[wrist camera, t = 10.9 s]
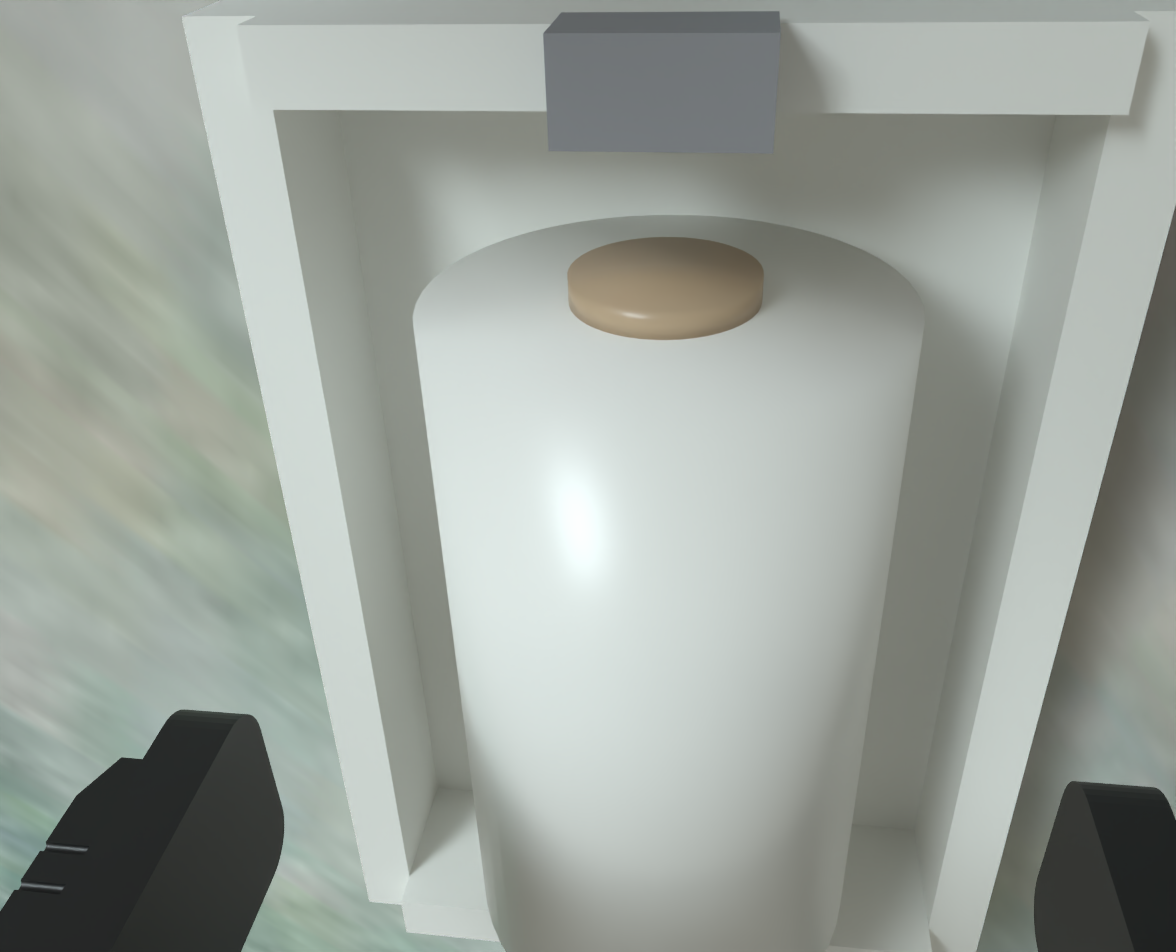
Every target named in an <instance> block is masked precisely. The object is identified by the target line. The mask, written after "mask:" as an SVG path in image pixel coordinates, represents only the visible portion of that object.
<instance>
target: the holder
mask: <svg viewBox="0 0 1176 952" xmlns="http://www.w3.org/2000/svg"><path fill="white" fill-rule="evenodd" d="M182 21H183V25H184V30H185V35H186V39H187V44H188V49H189V54H190V58H191V63H192V68H193V72H194V77H195V82H196V87H197V91H198V96H199V101H200V105H201V110H202V115H203V120H204V124H205V129H206V134H207V138H208V143H209V148H210V153H211V157H212V162H213V167H214V171H215V176H216V181H217V186H218V190H219V195H220V200H221V204H222V209H223V214H224V219H225V223H226V228H227V233H228V237H229V242H230V247H231V252H232V256H233V261H234V266H235V270H236V275H237V280H238V285H239V289H240V294H241V299H242V303H243V308H244V313H245V318H246V322H247V327H248V332H249V336H250V341H251V346H252V351H253V355H254V360H255V365H256V369H257V374H258V379H259V384H260V388H261V393H262V398H263V402H264V407H265V412H266V417H267V421H268V426H269V431H270V435H271V440H272V445H273V450H274V454H275V459H276V464H277V468H278V473H279V478H280V483H281V487H282V492H283V497H284V501H285V506H286V511H287V516H288V520H289V525H290V530H291V534H292V539H293V544H294V549H295V553H296V558H297V563H298V567H299V572H300V577H301V582H302V586H303V591H304V596H305V600H306V605H307V610H308V615H309V619H310V624H311V629H312V633H313V638H314V643H315V648H316V652H317V657H318V662H319V666H320V671H321V676H322V681H323V685H324V690H325V695H326V699H327V704H328V709H329V714H330V718H331V723H332V728H333V732H334V737H335V742H336V747H337V751H338V756H339V761H340V765H341V770H342V775H343V780H344V784H345V789H346V794H347V798H348V803H349V808H350V813H351V817H352V822H353V827H354V831H355V836H356V841H357V846H358V850H359V855H360V860H361V864H362V869H363V874H364V879H365V883H366V888H367V893H368V897H369V902H378V903H387V904H397V905H402V910H403V916H404V921H405V926H406V931H407V932H410V933H419V934H429V935H438V936H448V937H457V938H467V939H476V940H486V941H495V942H500V940H499V938H498V935H497V933H496V931H495V929H494V926H493V924H492V920H491V917H490V913H489V909H488V905H487V899H486V891H485V883H484V875H483V867H482V859H481V852H480V844H479V836H478V828H477V820H476V813H475V805H474V797H473V789H472V781H471V773H470V766H469V758H468V750H467V742H466V734H465V727H464V719H463V711H462V703H461V695H460V687H459V680H458V672H457V664H456V656H455V648H454V641H453V633H452V625H451V617H450V609H449V601H448V594H447V586H446V578H445V570H444V562H443V554H442V547H441V539H440V531H439V523H438V515H437V508H436V500H435V492H434V484H433V476H432V468H431V461H430V453H429V445H428V437H427V429H426V422H425V414H424V406H423V398H422V390H421V382H420V375H419V367H418V359H417V351H416V343H415V336H414V327H413V313H414V309H415V304H416V302H417V300H418V298H419V297H420V295H421V293H422V291H423V290H424V289H425V288H426V286H427V285H428V284H429V283H430V282H431V281H432V280H433V279H434V278H435V277H436V276H437V275H439V274H440V273H441V272H442V271H443V270H445V269H446V268H447V267H449V266H450V265H452V264H454V263H455V262H457V261H458V260H460V259H462V258H463V257H465V256H467V255H469V254H471V253H474V252H476V251H478V250H480V249H482V248H484V247H487V246H489V245H492V244H494V243H497V242H500V241H502V240H505V239H508V238H511V237H515V236H518V235H521V234H524V233H528V232H532V231H536V230H540V229H544V228H549V227H553V226H558V225H564V224H569V223H574V222H581V221H588V220H596V219H603V218H614V217H625V216H643V215H700V216H718V217H729V218H740V219H747V220H755V221H762V222H769V223H774V224H779V225H784V226H790V227H794V228H798V229H802V230H806V231H810V232H814V233H818V234H821V235H824V236H827V237H831V238H834V239H837V240H840V241H842V242H845V243H847V244H850V245H852V246H855V247H857V248H860V249H862V250H864V251H866V252H868V253H870V254H872V255H874V256H876V257H878V258H879V259H881V260H883V261H884V262H886V263H887V264H889V265H890V266H892V267H893V268H895V269H896V270H897V271H898V272H899V273H900V274H901V275H903V276H904V277H905V278H906V279H907V280H908V281H909V282H910V283H911V285H912V286H913V287H914V289H915V290H916V291H917V293H918V294H919V297H920V299H921V302H922V304H923V306H924V316H925V324H924V331H923V338H922V345H921V352H920V359H919V365H918V372H917V379H916V386H915V393H914V400H913V407H912V414H911V420H910V427H909V434H908V441H907V448H906V455H905V462H904V469H903V476H902V482H901V489H900V496H899V503H898V510H897V517H896V524H895V531H894V538H893V544H892V551H891V558H890V565H889V572H888V579H887V586H886V593H885V600H884V606H883V613H882V620H881V627H880V634H879V641H878V648H877V655H876V662H875V668H874V675H873V682H872V689H871V696H870V703H869V710H868V717H867V724H866V730H865V737H864V744H863V751H862V758H861V765H860V772H859V779H858V786H857V792H856V799H855V806H854V813H853V820H852V827H851V834H850V841H849V847H848V854H847V861H846V868H845V875H844V882H843V889H842V896H841V903H840V908H839V913H838V918H837V923H836V927H835V930H834V932H833V935H832V938H831V940H830V943H829V945H828V947H827V949H826V951H825V952H976V951H977V947H978V943H979V939H980V936H981V932H982V928H983V924H984V921H985V917H986V913H987V909H988V906H989V902H990V898H991V894H992V891H993V887H994V883H995V879H996V876H997V872H998V868H999V864H1000V861H1001V857H1002V853H1003V849H1004V846H1005V842H1006V838H1007V834H1008V831H1009V827H1010V823H1011V820H1012V816H1013V812H1014V808H1015V805H1016V801H1017V797H1018V793H1019V790H1020V786H1021V782H1022V778H1023V775H1024V771H1025V767H1026V763H1027V760H1028V756H1029V752H1030V748H1031V745H1032V741H1033V737H1034V733H1035V730H1036V726H1037V722H1038V718H1039V715H1040V711H1041V707H1042V703H1043V700H1044V696H1045V692H1046V688H1047V685H1048V681H1049V677H1050V673H1051V670H1052V666H1053V662H1054V659H1055V655H1056V651H1057V647H1058V644H1059V640H1060V636H1061V632H1062V629H1063V625H1064V621H1065V617H1066V614H1067V610H1068V606H1069V602H1070V599H1071V595H1072V591H1073V587H1074V584H1075V580H1076V576H1077V572H1078V569H1079V565H1080V561H1081V557H1082V554H1083V550H1084V546H1085V542H1086V539H1087V535H1088V531H1089V527H1090V524H1091V520H1092V516H1093V512H1094V509H1095V505H1096V501H1097V498H1098V494H1099V490H1100V486H1101V483H1102V479H1103V475H1104V471H1105V468H1106V464H1107V460H1108V456H1109V453H1110V449H1111V445H1112V441H1113V438H1114V434H1115V430H1116V426H1117V423H1118V419H1119V415H1120V411H1121V408H1122V404H1123V400H1124V396H1125V393H1126V389H1127V385H1128V381H1129V378H1130V374H1131V370H1132V366H1133V363H1134V359H1135V355H1136V351H1137V348H1138V344H1139V340H1140V337H1141V333H1142V329H1143V325H1144V322H1145V318H1146V314H1147V310H1148V307H1149V303H1150V299H1151V295H1152V292H1153V288H1154V284H1155V280H1156V277H1157V273H1158V269H1159V265H1160V262H1161V258H1162V254H1163V250H1164V247H1165V243H1166V239H1167V235H1168V232H1169V228H1170V224H1171V220H1172V217H1173V213H1174V209H1175V205H1176V0H220V1H218V2H215V3H213V4H210V5H208V6H206V7H203V8H201V9H198V10H196V11H193V12H191V13H188V14H186V15H184V16H182Z"/></svg>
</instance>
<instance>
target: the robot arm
mask: <svg viewBox="0 0 1176 952" xmlns="http://www.w3.org/2000/svg"><path fill="white" fill-rule="evenodd" d="M283 837H284V815H283V809H282V805H281V801H280V798H279V794H278V791H277V787H276V783H275V780H274V776H273V773H272V769H271V765H270V762H269V758H268V755H267V751H266V747H265V744H264V740H263V737H262V733H261V729H260V726H259V724H258V722H257V720H256V719H255V718H254V717H253V716H252V715H248V714H235V713H222V712H209V711H196V710H179V711H177V712H175V713H174V714H172V715H171V716H170V718H169V719H168V720H167V721H166V723H165V724H164V726H163V727H162V729H161V730H160V732H159V734H158V735H157V737H156V739H155V740H154V742H153V743H152V745H151V747H150V748H149V750H148V752H147V753H146V755H145V756H144V758H143V759H133V758H120V759H119V760H118V761H117V762H116V763H114V764H113V765H112V766H111V767H110V768H109V769H107V770H106V771H105V772H104V773H103V774H101V775H100V776H99V777H98V778H97V779H96V780H94V781H93V782H92V783H91V784H90V785H89V786H87V787H86V788H85V789H84V790H83V791H81V792H80V793H79V794H78V795H77V796H76V797H75V799H74V800H73V802H72V803H71V805H70V806H69V808H68V809H67V811H66V812H65V814H64V815H63V817H62V818H61V820H60V821H59V823H58V824H57V826H56V828H55V829H54V831H53V832H52V834H51V835H50V837H49V838H48V840H47V841H46V849H45V850H44V851H40V852H39V853H38V855H37V856H36V858H35V859H34V861H33V862H32V864H31V866H30V867H29V869H28V870H27V872H26V873H25V875H24V876H23V878H22V879H21V887H20V889H19V890H14V891H13V893H12V894H11V896H10V897H9V899H8V901H7V902H6V904H5V905H4V907H3V908H2V910H1V911H0V952H241V950H242V948H243V945H244V943H245V941H246V939H247V936H248V934H249V932H250V929H251V927H252V925H253V922H254V920H255V918H256V916H257V913H258V911H259V909H260V906H261V904H262V902H263V899H264V897H265V895H266V893H267V890H268V888H269V886H270V883H271V881H272V879H273V876H274V874H275V871H276V869H277V866H278V863H279V859H280V855H281V850H282V845H283ZM1034 923H1035V934H1036V942H1037V947H1038V952H1176V820H1175V817H1174V815H1173V812H1172V809H1171V807H1170V805H1169V803H1168V800H1167V799H1166V797H1165V796H1164V794H1163V793H1162V792H1161V791H1160V790H1159V789H1157V788H1154V787H1142V786H1129V785H1116V784H1103V783H1090V782H1077V781H1072V782H1070V783H1069V784H1068V785H1067V787H1066V788H1065V791H1064V793H1063V796H1062V799H1061V803H1060V806H1059V809H1058V812H1057V816H1056V819H1055V822H1054V826H1053V829H1052V832H1051V835H1050V839H1049V842H1048V845H1047V848H1046V852H1045V855H1044V858H1043V862H1042V865H1041V868H1040V871H1039V875H1038V878H1037V882H1036V888H1035V897H1034Z"/></svg>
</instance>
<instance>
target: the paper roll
mask: <svg viewBox="0 0 1176 952" xmlns="http://www.w3.org/2000/svg"><path fill="white" fill-rule="evenodd" d="M924 324H925V316H924V306H923V304H922V302H921V299H920V297H919V294H918V293H917V291H916V290H915V289H914V287H913V286H912V285H911V283H910V282H909V281H908V280H907V279H906V278H905V277H904V276H903V275H901V274H900V273H899V272H898V271H897V270H896V269H895V268H893V267H892V266H890V265H889V264H887V263H886V262H884V261H883V260H881V259H879V258H878V257H876V256H874V255H872V254H870V253H868V252H866V251H864V250H862V249H860V248H857V247H855V246H852V245H850V244H847V243H845V242H842V241H840V240H837V239H834V238H831V237H827V236H824V235H821V234H818V233H814V232H810V231H806V230H802V229H798V228H794V227H790V226H784V225H779V224H774V223H769V222H762V221H755V220H747V219H740V218H729V217H718V216H700V215H643V216H625V217H614V218H603V219H596V220H588V221H581V222H574V223H569V224H564V225H558V226H553V227H549V228H544V229H540V230H536V231H532V232H528V233H524V234H521V235H518V236H515V237H511V238H508V239H505V240H502V241H500V242H497V243H494V244H492V245H489V246H487V247H484V248H482V249H480V250H478V251H476V252H474V253H471V254H469V255H467V256H465V257H463V258H462V259H460V260H458V261H457V262H455V263H454V264H452V265H450V266H449V267H447V268H446V269H445V270H443V271H442V272H441V273H440V274H439V275H437V276H436V277H435V278H434V279H433V280H432V281H431V282H430V283H429V284H428V285H427V286H426V288H425V289H424V290H423V291H422V293H421V295H420V297H419V298H418V300H417V302H416V304H415V309H414V313H413V327H414V336H415V343H416V351H417V359H418V367H419V375H420V382H421V390H422V398H423V406H424V414H425V422H426V429H427V437H428V445H429V453H430V461H431V468H432V476H433V484H434V492H435V500H436V508H437V515H438V523H439V531H440V539H441V547H442V554H443V562H444V570H445V578H446V586H447V594H448V601H449V609H450V617H451V625H452V633H453V641H454V648H455V656H456V664H457V672H458V680H459V687H460V695H461V703H462V711H463V719H464V727H465V734H466V742H467V750H468V758H469V766H470V773H471V781H472V789H473V797H474V805H475V813H476V820H477V828H478V836H479V844H480V852H481V859H482V867H483V875H484V883H485V891H486V899H487V905H488V909H489V913H490V917H491V920H492V924H493V926H494V929H495V931H496V933H497V935H498V938H499V940H500V942H501V944H502V946H503V947H504V949H505V951H506V952H825V951H826V949H827V947H828V945H829V943H830V940H831V938H832V935H833V932H834V930H835V927H836V923H837V918H838V913H839V908H840V903H841V896H842V889H843V882H844V875H845V868H846V861H847V854H848V847H849V841H850V834H851V827H852V820H853V813H854V806H855V799H856V792H857V786H858V779H859V772H860V765H861V758H862V751H863V744H864V737H865V730H866V724H867V717H868V710H869V703H870V696H871V689H872V682H873V675H874V668H875V662H876V655H877V648H878V641H879V634H880V627H881V620H882V613H883V606H884V600H885V593H886V586H887V579H888V572H889V565H890V558H891V551H892V544H893V538H894V531H895V524H896V517H897V510H898V503H899V496H900V489H901V482H902V476H903V469H904V462H905V455H906V448H907V441H908V434H909V427H910V420H911V414H912V407H913V400H914V393H915V386H916V379H917V372H918V365H919V359H920V352H921V345H922V338H923V331H924Z"/></svg>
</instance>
